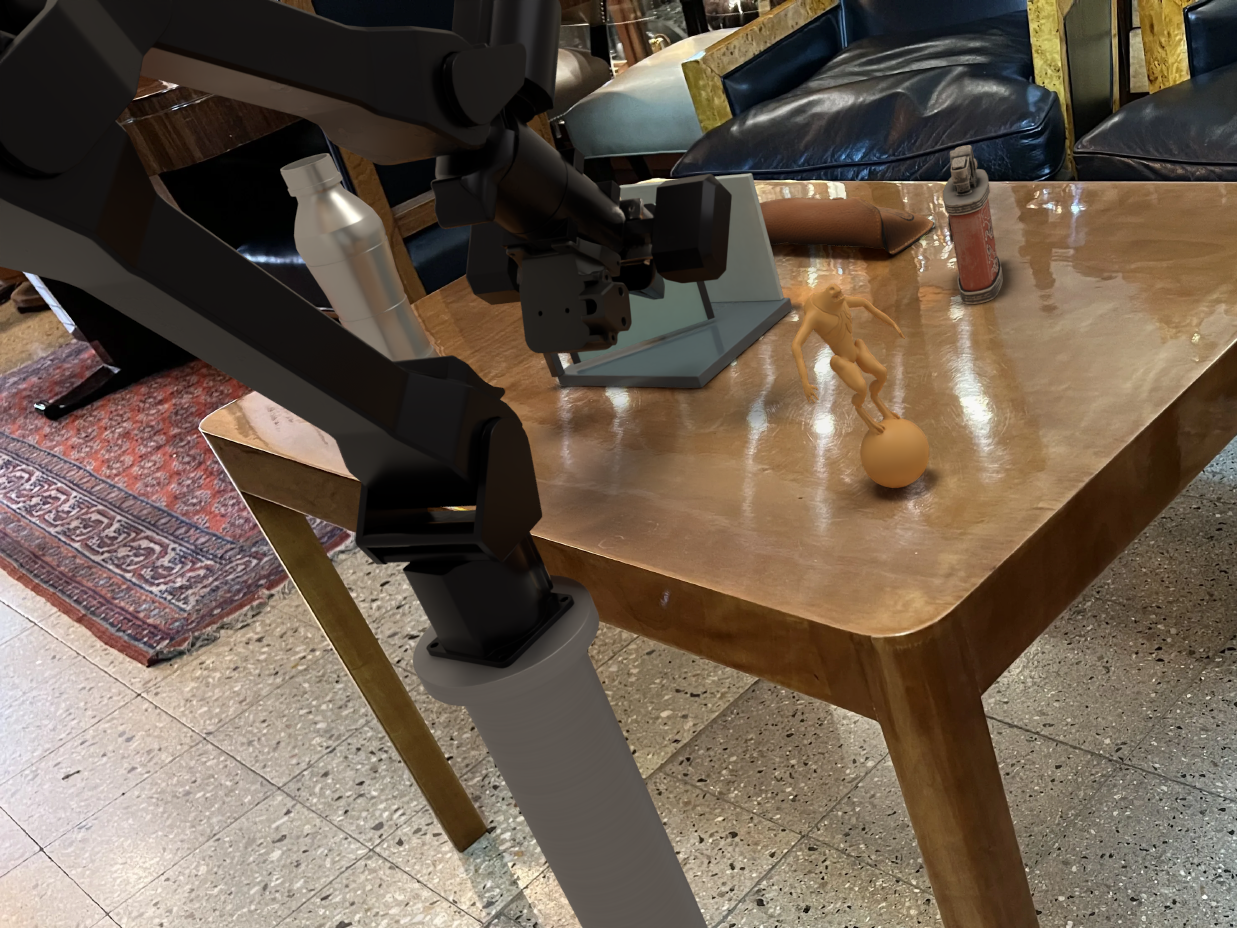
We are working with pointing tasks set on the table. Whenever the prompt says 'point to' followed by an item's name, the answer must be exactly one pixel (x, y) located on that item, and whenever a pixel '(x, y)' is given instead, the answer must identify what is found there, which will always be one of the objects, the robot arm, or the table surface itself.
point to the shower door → (660, 315)
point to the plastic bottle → (353, 260)
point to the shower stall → (702, 350)
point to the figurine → (863, 387)
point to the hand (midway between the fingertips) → (660, 292)
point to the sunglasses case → (841, 223)
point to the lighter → (972, 228)
